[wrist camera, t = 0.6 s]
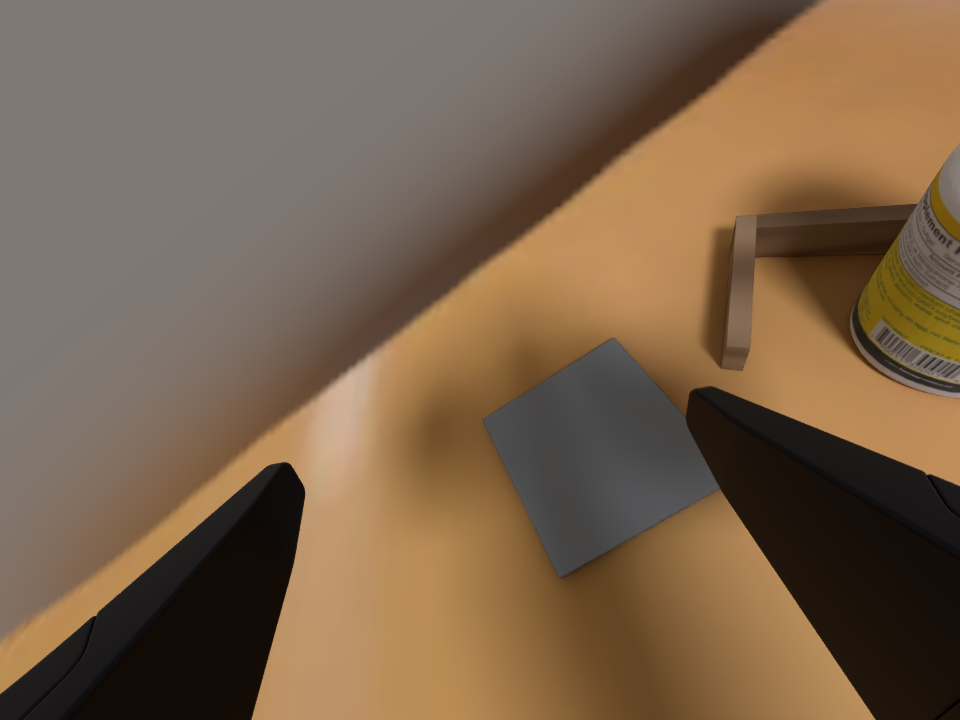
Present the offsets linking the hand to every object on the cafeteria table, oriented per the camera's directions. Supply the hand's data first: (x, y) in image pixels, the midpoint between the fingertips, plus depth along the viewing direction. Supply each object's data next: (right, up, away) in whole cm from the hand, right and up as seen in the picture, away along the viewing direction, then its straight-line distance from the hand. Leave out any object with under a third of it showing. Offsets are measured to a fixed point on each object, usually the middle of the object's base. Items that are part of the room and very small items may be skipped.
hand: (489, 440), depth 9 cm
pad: (+6, -3, +14) cm, 15 cm away
